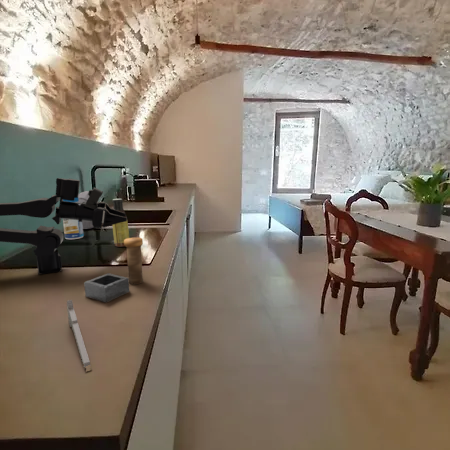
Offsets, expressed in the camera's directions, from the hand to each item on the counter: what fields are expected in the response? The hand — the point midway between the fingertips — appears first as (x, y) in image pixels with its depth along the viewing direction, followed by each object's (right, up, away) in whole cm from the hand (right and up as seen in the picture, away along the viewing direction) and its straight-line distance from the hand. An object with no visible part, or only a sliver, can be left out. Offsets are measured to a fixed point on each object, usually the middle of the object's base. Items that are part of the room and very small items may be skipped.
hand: (126, 217), depth 112 cm
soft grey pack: (-37, -5, +62) cm, 72 cm away
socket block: (+2, -21, -24) cm, 32 cm away
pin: (+8, -20, -15) cm, 26 cm away
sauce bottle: (-10, -12, +26) cm, 30 cm away
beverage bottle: (-37, -9, +41) cm, 55 cm away
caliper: (+5, -27, -47) cm, 55 cm away
